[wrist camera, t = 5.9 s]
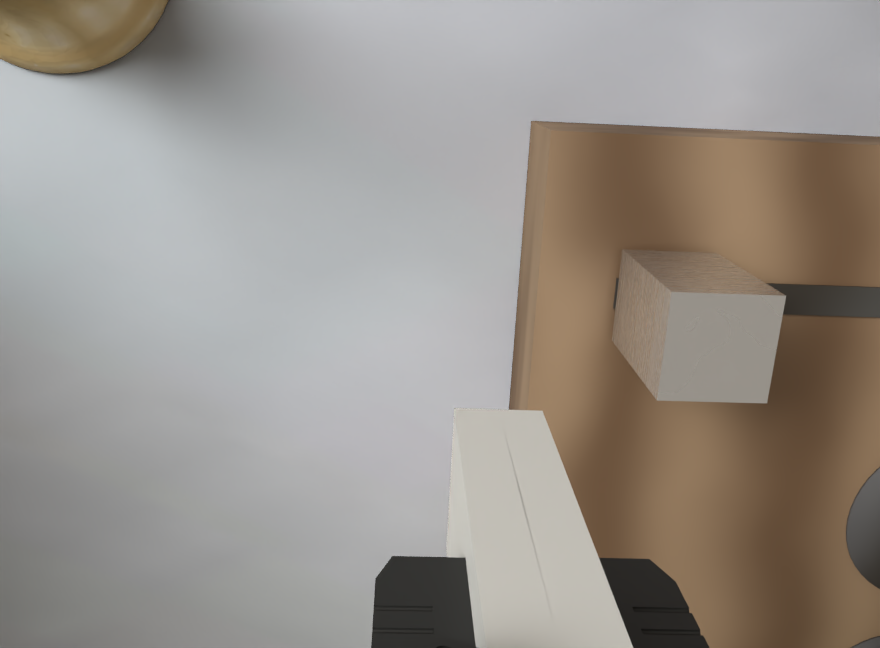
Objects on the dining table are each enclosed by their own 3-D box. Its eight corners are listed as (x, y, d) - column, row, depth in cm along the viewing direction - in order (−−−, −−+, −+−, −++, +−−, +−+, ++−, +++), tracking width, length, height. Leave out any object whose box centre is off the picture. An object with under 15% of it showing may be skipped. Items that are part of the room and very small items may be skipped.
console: (484, 726, 37) (494, 805, 33) (531, 120, 29) (551, 130, 25) (901, 727, 38) (958, 804, 34) (1054, 144, 30) (1152, 157, 26)
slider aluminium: (611, 340, 27) (657, 400, 22) (622, 249, 26) (671, 291, 21) (702, 343, 27) (767, 403, 22) (716, 252, 26) (786, 295, 21)
